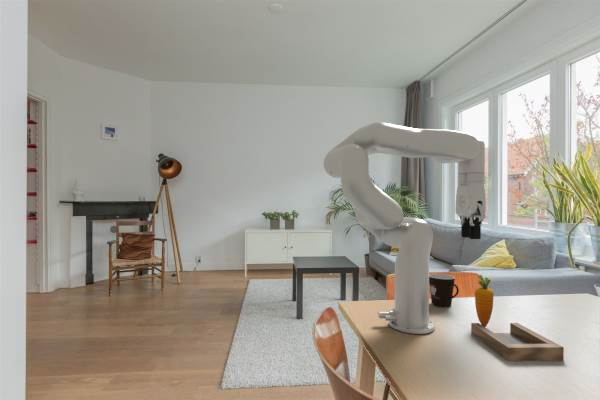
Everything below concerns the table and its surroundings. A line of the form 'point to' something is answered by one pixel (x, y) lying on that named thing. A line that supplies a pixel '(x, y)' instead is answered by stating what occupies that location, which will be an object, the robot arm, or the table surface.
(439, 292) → the coffee mug
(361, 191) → the robot arm
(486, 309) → the carrot
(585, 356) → the table surface
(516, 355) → the rest
